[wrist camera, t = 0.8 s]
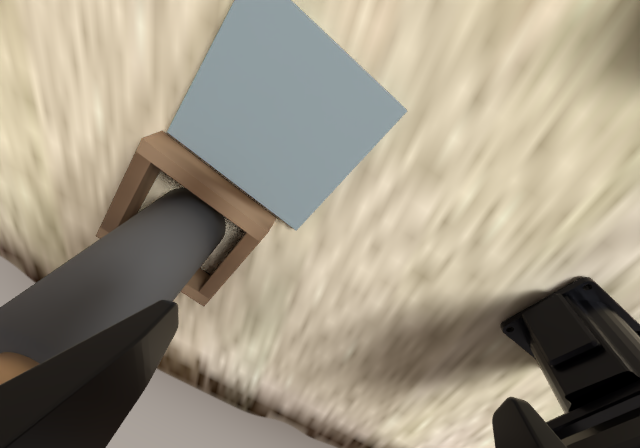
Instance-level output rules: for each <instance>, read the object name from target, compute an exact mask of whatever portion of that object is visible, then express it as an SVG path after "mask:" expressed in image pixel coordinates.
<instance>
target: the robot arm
mask: <svg viewBox="0 0 640 448" xmlns="http://www.w3.org/2000/svg"><path fill="white" fill-rule="evenodd" d="M587 284H588V285H587ZM585 285H587V286H585ZM508 327H510V328H508ZM177 328H178V305H177V303H175V302H172V301H168V300H160V301H157V302H156V303H154V304H152V305H150V306H148V307H146V308H144V309H142V310H141V311H139V312H137V313H135V314H133V315H131V316H129V317H127V318H125V319H124V320H122V321H120V322H118V323H116V324H114V325H112V326H110V327H108V328H107V329H105V330H103V331H101V332H99V333H97V334H95V335H93V336H91V337H90V338H88V339H86V340H84V341H82V342H80V343H78V344H76V345H74V346H73V347H71V348H69V349H67V350H65V351H63V352H61V353H59V354H57V355H56V356H54V357H52V358H50V359H48V360H46V361H44V362H42V363H40V364H39V365H37V366H35V367H33V368H31V369H29V370H27V371H25V372H23V373H22V374H20V375H18V376H16V377H14V378H12V379H10V380H8V381H6V382H5V383H3V384H1V385H0V448H106V446H107V445H108V443H109V442H110V440H111V439H112V437H113V436H114V434H115V433H116V431H117V430H118V428H119V427H120V425H121V424H122V422H123V421H124V419H125V418H126V416H127V415H128V413H129V412H130V411H131V409H132V408H133V406H134V405H135V403H136V402H137V400H138V399H139V397H140V396H141V394H142V393H143V391H144V390H145V388H146V386H147V385H148V383H149V381H150V379H151V378H152V376H153V373H154V372H155V370H156V368H157V366H158V365H159V363H160V361H161V359H162V357H163V355H164V353H165V352H166V350H167V348H168V346H169V344H170V342H171V341H172V339H173V337H174V335H175V333H176V331H177ZM501 329H502V331H503V332H504V333H505V334H506V335H507V336H508V337H509V338H511V339H512V340H513V341H514V342H516V343H517V344H518V345H519V346H520V347H522V348H523V349H524V350H525V351H527V352H528V353H529V354H530V355H531V356H533V357H534V358H535V359H536V360H537V362H538V364H539V366H540V368H541V370H542V372H543V373H544V375H545V377H546V379H547V381H548V383H549V385H550V387H551V389H552V390H553V392H554V394H555V396H556V398H557V400H558V402H559V404H560V405H561V407H562V409H563V411H564V413H565V414H563V415H561V416H558V417H556V418H554V419H552V420H550V421H548V422H545V421H544V420H543V419H542V418H541V417H540V415H539V414H538V413H537V412H536V411H535V410H534V408H533V407H532V406H531V405H530V404H529V403H528V402H526V401H524V400H521V399H517V398H514V397H509V398H507V399H506V400H505V401H504V402H503V403H502V405H501V406H500V407H499V408H498V409H497V410H496V411H495V413H494V415H493V419H492V424H493V432H494V440H495V448H640V324H639V323H638V322H637V321H636V320H634V319H633V318H632V317H631V316H630V315H629V314H628V313H627V312H626V311H625V310H624V309H623V308H622V307H621V306H620V305H619V304H618V303H617V302H616V301H615V300H613V299H612V298H611V297H610V296H609V295H608V294H607V293H606V292H605V291H604V290H603V289H602V288H601V287H600V286H599V285H598V284H597V283H596V282H595V281H593V280H592V279H591V278H589V277H584V278H580V279H578V280H577V281H575V282H573V283H571V284H570V285H568V286H566V287H564V288H562V289H561V290H559V291H557V292H555V293H554V294H552V295H550V296H548V297H546V298H545V299H543V300H541V301H539V302H538V303H536V304H534V305H532V306H530V307H529V308H527V309H525V310H523V311H522V312H520V313H518V314H516V315H514V316H513V317H511V318H509V319H507V320H506V321H504V322H502V323H501Z"/></svg>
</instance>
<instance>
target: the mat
mask: <svg viewBox="0 0 640 448" xmlns="http://www.w3.org/2000/svg"><path fill="white" fill-rule="evenodd" d="M406 112H407V110H406V108H404V107H403V106H402V105H401V104H400V103H399V102H398V101H397V100H396V99H395V98H394V97H393V96H392V95H391V94H390V93H389V92H388V91H386V90H385V89H384V88H383V87H382V86H381V85H380V84H379V83H378V82H377V81H376V80H375V79H374V78H373V77H372V76H371V75H370V74H369V73H367V72H366V71H365V70H364V69H363V68H362V67H361V66H360V65H359V64H358V63H357V62H356V61H355V60H354V59H353V58H352V57H351V56H349V55H348V54H347V53H346V52H345V51H344V50H343V49H342V48H341V47H340V46H339V45H338V44H337V43H336V42H335V41H334V40H333V39H331V38H330V37H329V36H328V35H327V34H326V33H325V32H324V31H323V30H322V29H321V28H320V27H319V26H318V25H317V24H316V23H315V22H314V21H312V20H311V19H310V18H309V17H308V16H307V15H306V14H305V13H304V12H303V11H302V10H301V9H300V8H299V7H298V6H297V5H296V4H294V3H293V2H292V1H291V0H234V2H233V4H232V6H231V8H230V10H229V12H228V14H227V16H226V18H225V20H224V22H223V24H222V26H221V28H220V30H219V32H218V33H217V35H216V37H215V39H214V41H213V43H212V45H211V47H210V49H209V51H208V53H207V55H206V57H205V59H204V61H203V63H202V65H201V67H200V69H199V70H198V72H197V74H196V76H195V78H194V80H193V82H192V84H191V86H190V88H189V90H188V92H187V94H186V96H185V98H184V100H183V102H182V104H181V106H180V107H179V109H178V111H177V113H176V115H175V117H174V119H173V121H172V123H171V125H170V127H169V129H168V131H167V132H168V133H169V134H170V135H172V136H173V137H174V138H175V139H177V140H178V141H179V142H181V143H182V144H183V145H185V146H186V147H187V148H189V149H190V150H191V151H193V152H194V153H195V154H196V155H198V156H199V157H200V158H202V159H203V160H204V161H206V162H207V163H208V164H210V165H211V166H212V167H214V168H215V169H216V170H217V171H219V172H220V173H221V174H223V175H224V176H225V177H227V178H228V179H229V180H231V181H232V182H233V183H234V184H236V185H237V186H238V187H240V188H241V189H242V190H244V191H245V192H246V193H248V194H249V195H250V196H252V197H253V198H254V199H255V200H257V201H258V202H259V203H261V204H262V205H263V206H265V207H266V208H267V209H269V210H270V211H271V212H273V213H274V214H275V215H276V216H278V217H279V218H280V219H282V220H283V221H284V222H286V223H287V224H288V225H290V226H291V227H292V228H294V229H295V230H297V229H298V228H299V227H300V226H301V225H302V224H303V223H304V222H305V221H306V220H307V219H308V217H309V216H310V215H311V214H312V213H313V212H314V211H315V210H316V209H317V208H318V207H319V206H320V205H321V203H322V202H323V201H324V200H325V199H326V198H327V197H328V196H329V195H330V194H331V193H332V192H333V191H334V189H335V188H336V187H337V186H338V185H339V184H340V183H341V182H342V181H343V180H344V179H345V178H346V176H347V175H348V174H349V173H350V172H351V171H352V170H353V169H354V168H355V167H356V166H357V165H358V164H359V162H360V161H361V160H362V159H363V158H364V157H365V156H366V155H367V154H368V153H369V152H370V151H371V150H372V148H373V147H374V146H375V145H376V144H377V143H378V142H379V141H380V140H381V139H382V138H383V137H384V136H385V134H386V133H387V132H388V131H389V130H390V129H391V128H392V127H393V126H394V125H395V124H396V123H397V122H398V120H399V119H400V118H401V117H402V116H403V115H404V114H405V113H406Z"/></svg>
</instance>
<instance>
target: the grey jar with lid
mask: <svg viewBox="0 0 640 448" xmlns="http://www.w3.org/2000/svg"><path fill="white" fill-rule="evenodd" d="M225 229H226V225H225V219H224V216H223V215H222V214H221V213H219V212H218V211H217V210H215V209H214V208H213V207H211V206H210V205H208V204H207V203H206V202H204V201H203V200H202V199H200V198H199V197H198V196H196V195H195V194H193V193H192V192H191V191H189V190H188V189H187V188H177V189H174V190H171V191H170V192H168V193H167V194H165V195H164V196H162V197H161V198H159V199H158V200H156V201H155V202H153V203H152V204H151V205H149V206H148V207H146V208H145V209H143V210H142V211H140V212H139V213H137V214H136V215H134V216H133V217H132V218H130V219H129V220H127V221H126V222H124V223H123V224H121V225H120V226H118V227H117V228H116V229H114V230H113V231H111V232H110V233H108V234H107V235H105V236H104V237H102V238H101V239H99V240H98V241H97V242H95V243H94V244H92V245H91V246H89V247H88V248H86V249H85V250H83V251H82V252H80V253H79V254H78V255H76V256H75V257H73V258H72V259H70V260H69V261H67V262H66V263H64V264H63V265H62V266H60V267H59V268H57V269H56V270H54V271H53V272H51V273H50V274H48V275H47V276H45V277H44V278H43V279H41V280H40V281H38V282H37V283H35V284H34V285H32V286H31V287H30V288H28V289H26V290H25V291H24V292H22V293H21V294H20V295H18V296H16V297H15V298H13V299H12V300H11V301H9V302H8V303H6V304H5V305H3V306H2V307H0V385H1V384H3V383H5V382H6V381H8V380H10V379H12V378H14V377H16V376H18V375H20V374H22V373H23V372H25V371H27V370H29V369H31V368H33V367H35V366H37V365H39V364H40V363H42V362H44V361H46V360H48V359H50V358H52V357H54V356H56V355H57V354H59V353H61V352H63V351H65V350H67V349H69V348H71V347H73V346H74V345H76V344H78V343H80V342H82V341H84V340H86V339H88V338H90V337H91V336H93V335H95V334H97V333H99V332H101V331H103V330H105V329H107V328H108V327H110V326H112V325H114V324H116V323H118V322H120V321H122V320H124V319H125V318H127V317H129V316H131V315H133V314H135V313H137V312H139V311H141V310H142V309H144V308H146V307H148V306H150V305H152V304H154V303H156V302H157V301H160V300H168V301H173V300H174V299H175V298H176V296H177V295H178V294H179V293H180V291H181V290H182V289H183V288H184V286H185V285H186V284H187V283H188V281H189V280H190V279H191V278H192V276H193V275H194V274H195V273H196V271H197V270H198V269H199V268H200V267H201V265H202V264H203V263H204V262H205V260H206V259H207V258H208V257H209V255H210V254H211V253H212V252H213V250H214V249H215V248H216V247H217V245H218V244H219V243H220V242H221V240H222V239H223V237H224V235H225Z"/></svg>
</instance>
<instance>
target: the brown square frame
mask: <svg viewBox="0 0 640 448" xmlns="http://www.w3.org/2000/svg"><path fill="white" fill-rule="evenodd" d="M160 170H162V171H163V172H165V173H166V174H167V175H169V176H170V177H172V178H173V179H174V180H176V181H177V182H178V183H180V184H181V185H183V186H184V187H185V188H187V189H188V190H189V191H191V192H192V193H193V194H195V195H196V196H198V197H199V198H200V199H202V200H203V201H204V202H206V203H207V204H208V205H210V206H211V207H213V208H214V209H215V210H217V211H218V212H219V213H221V214H222V215H224V216H225V217H226V218H228V219H229V220H230V221H232V222H233V223H234V224H236V225H237V226H239V227H240V228H241V229H243V230H244V231H245V232H246V233H245V234H244V235H243V236H242V238H241V239H240V240H239V241H238V242H237V244H236V245H235V246H234V247H233V249H232V250H231V251H230V252H229V254H228V255H227V256H226V257H225V258H224V260H223V261H222V262H221V263H220V265H219V266H218V267H217V268H216V269H215V271H214V272H213V273H212V274H211V275H209V274H208V273H206V272H205V271H204V270H202V269H201V268H199V269H198V270H197V271H196V273H195V274H194V275H193V276H192V278H191V279H190V280H189V281H188V283H187V284H186V285H185V286H184V288H183V289H182V290H181V292H182V293H184V294H185V295H187V296H189V297H190V298H192V299H193V300H195V301H196V302H198V303H199V304H201V305H202V306H205V305H206V304H207V302H208V301H209V300H210V299H211V298H212V297H213V295H214V294H215V293H216V292H217V291H218V290H219V289H220V287H221V286H222V285H223V284H224V283H225V282H226V280H227V279H228V278H229V277H230V276H231V275H232V274H233V272H234V271H235V270H236V269H237V268H238V267H239V265H240V264H241V263H242V262H243V261H244V260H245V259H246V257H247V256H248V255H249V254H250V253H251V252H252V250H253V249H254V248H255V247H256V246H257V245H258V244H259V242H260V241H261V240H262V239H263V238H264V237H265V235H266V234H267V233H268V232H269V230H270V228H271V227H272V225H273V223H274V222H275V220H276V217H275V216H274V215H272V214H271V213H270V212H268V211H267V210H266V209H264V208H263V207H262V206H261V205H259V204H258V203H257V202H255V201H254V200H253V199H251V198H250V197H249V196H247V195H246V194H245V193H243V192H242V191H241V190H240V189H238V188H237V187H236V186H234V185H233V184H232V183H230V182H229V181H228V180H226V179H225V178H224V177H222V176H221V175H220V174H218V173H217V172H216V171H215V170H213V169H212V168H211V167H209V166H208V165H207V164H205V163H204V162H203V161H201V160H200V159H199V158H197V157H196V156H195V155H194V154H192V153H191V152H190V151H188V150H187V149H186V148H184V147H183V146H182V145H180V144H179V143H178V142H176V141H175V140H174V139H172V138H171V137H170V136H169V135H167V134H166V133H165V132H163V131H160V132H158V133H155V134H152V135H150V136H147V137H144V138H142V139H141V141H140V144H139V146H138V148H137V150H136V152H135V154H134V156H133V158H132V160H131V163H130V165H129V167H128V169H127V171H126V173H125V175H124V177H123V180H122V182H121V184H120V186H119V188H118V190H117V192H116V194H115V196H114V199H113V201H112V203H111V205H110V207H109V209H108V211H107V213H106V215H105V218H104V220H103V222H102V224H101V226H100V228H99V230H98V232H97V235H96V237H98V238H100V239H101V238H102V237H104V236H105V235H107V234H108V233H110V232H111V231H113V230H114V229H116V228H117V227H118V226H120V225H121V224H123V223H124V222H126V221H127V220H129V219H130V218H132V217H133V216H134V215H136V214H137V213H138V211H139V209H140V207H141V205H142V203H143V201H144V200H145V198H146V196H147V194H148V192H149V190H150V188H151V187H152V185H153V183H154V181H155V179H156V177H157V175H158V174H159V172H160Z"/></svg>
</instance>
